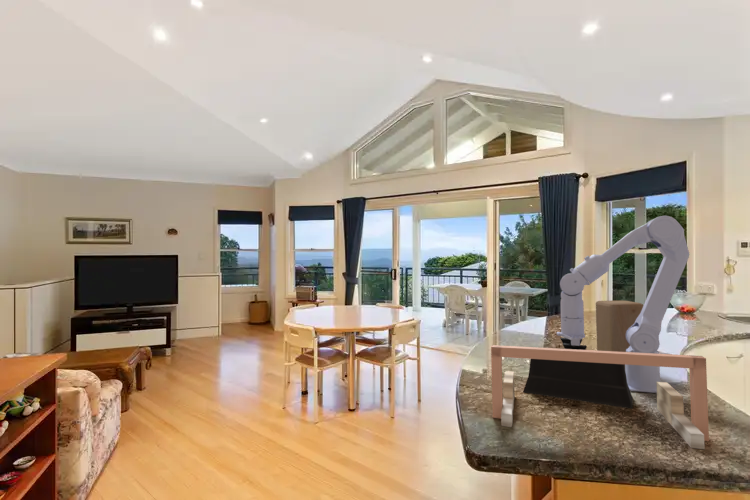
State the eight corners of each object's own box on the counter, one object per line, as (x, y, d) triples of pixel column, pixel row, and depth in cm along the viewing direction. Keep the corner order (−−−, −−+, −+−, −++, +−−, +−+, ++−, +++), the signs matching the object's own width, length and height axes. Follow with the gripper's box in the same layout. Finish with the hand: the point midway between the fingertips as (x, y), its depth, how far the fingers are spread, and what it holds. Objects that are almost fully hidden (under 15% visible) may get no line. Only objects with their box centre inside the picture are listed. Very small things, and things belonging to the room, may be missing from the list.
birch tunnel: (506, 395, 103) (505, 370, 103) (668, 410, 91) (667, 382, 92) (501, 425, 84) (500, 396, 84) (704, 449, 73) (703, 414, 73)
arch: (493, 414, 91) (491, 345, 91) (704, 436, 78) (701, 355, 78) (492, 417, 89) (491, 346, 89) (709, 441, 76) (706, 358, 76)
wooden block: (647, 371, 123) (645, 303, 123) (613, 371, 123) (611, 303, 123) (627, 362, 133) (625, 300, 133) (596, 363, 133) (594, 300, 133)
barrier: (522, 393, 105) (521, 353, 105) (530, 384, 113) (529, 347, 113) (632, 410, 93) (630, 364, 93) (632, 398, 100) (631, 356, 100)
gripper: (554, 313, 122) (555, 359, 122) (558, 320, 109) (559, 372, 108) (581, 314, 120) (582, 361, 120) (588, 321, 106) (589, 375, 106)
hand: (573, 367), depth 114 cm, fingers open, 7 cm apart
